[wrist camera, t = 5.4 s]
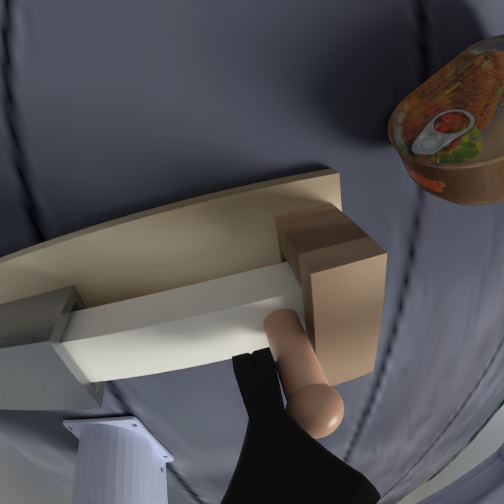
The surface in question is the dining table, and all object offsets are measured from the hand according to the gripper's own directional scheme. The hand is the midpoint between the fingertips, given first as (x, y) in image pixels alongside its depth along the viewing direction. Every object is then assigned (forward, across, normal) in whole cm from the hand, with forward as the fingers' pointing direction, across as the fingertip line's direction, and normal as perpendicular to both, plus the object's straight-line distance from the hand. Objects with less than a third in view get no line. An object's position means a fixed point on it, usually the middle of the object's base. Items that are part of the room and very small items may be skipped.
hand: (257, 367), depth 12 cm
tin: (+7, -15, -9) cm, 19 cm away
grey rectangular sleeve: (+7, +13, 0) cm, 15 cm away
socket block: (+6, -4, 0) cm, 8 cm away
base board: (+7, +7, 0) cm, 10 cm away
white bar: (+5, +3, 0) cm, 6 cm away
